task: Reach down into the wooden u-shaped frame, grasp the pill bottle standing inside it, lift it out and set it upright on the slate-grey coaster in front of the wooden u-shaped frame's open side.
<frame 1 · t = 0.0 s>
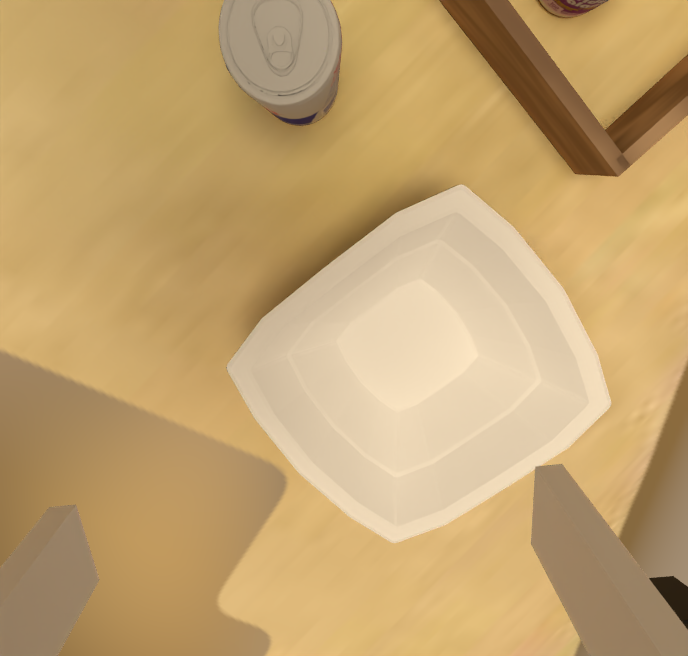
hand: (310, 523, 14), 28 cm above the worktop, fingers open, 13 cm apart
bowl: (406, 343, 43), on the worktop
beverage can: (299, 84, 36), on the worktop
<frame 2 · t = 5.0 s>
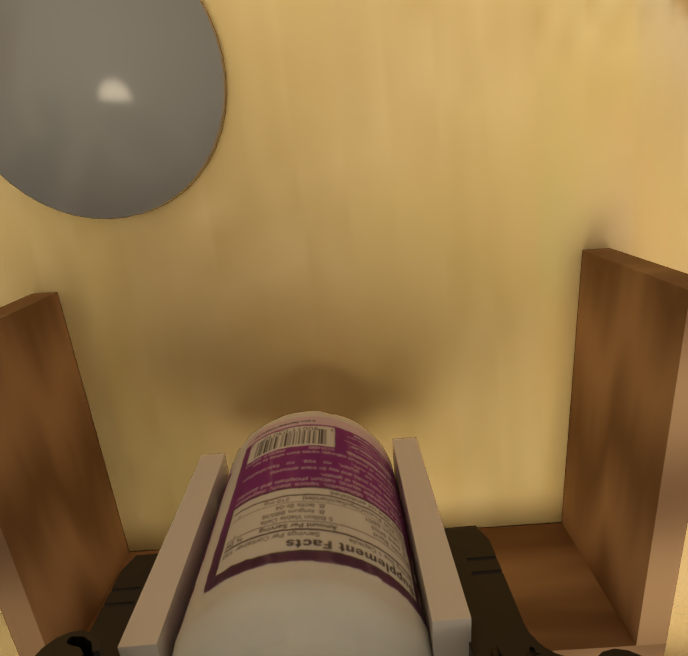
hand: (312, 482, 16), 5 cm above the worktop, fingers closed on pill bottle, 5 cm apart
coaster: (92, 80, 16), on the worktop
pill bottle: (314, 472, 17), point 4 cm above the worktop, touching gripper
wooden u-shaped frame: (331, 422, 21), on the worktop
when the fingers open (2 cm above the worktop, at t = 9.9 s): pill bottle stays where it is, resting on coaster.
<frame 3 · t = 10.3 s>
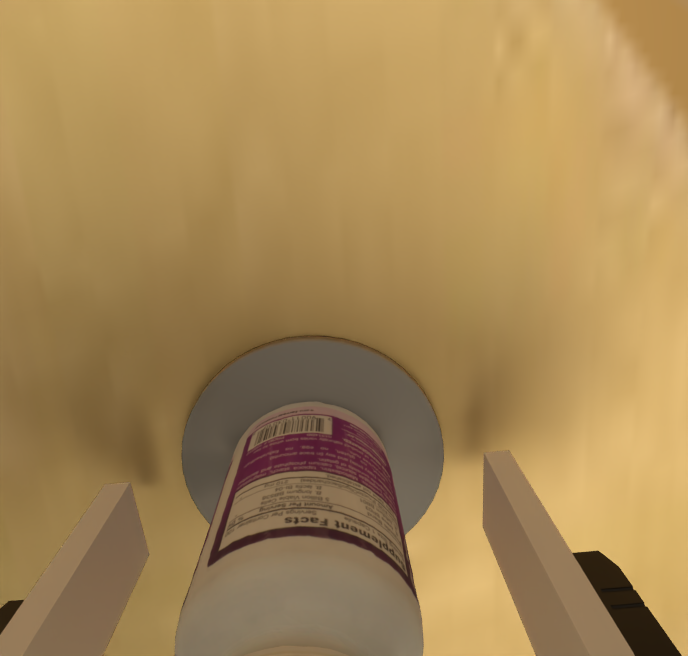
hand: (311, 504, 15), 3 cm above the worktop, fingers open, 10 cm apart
coaster: (314, 454, 18), on the worktop
pill bottle: (312, 461, 17), resting on coaster
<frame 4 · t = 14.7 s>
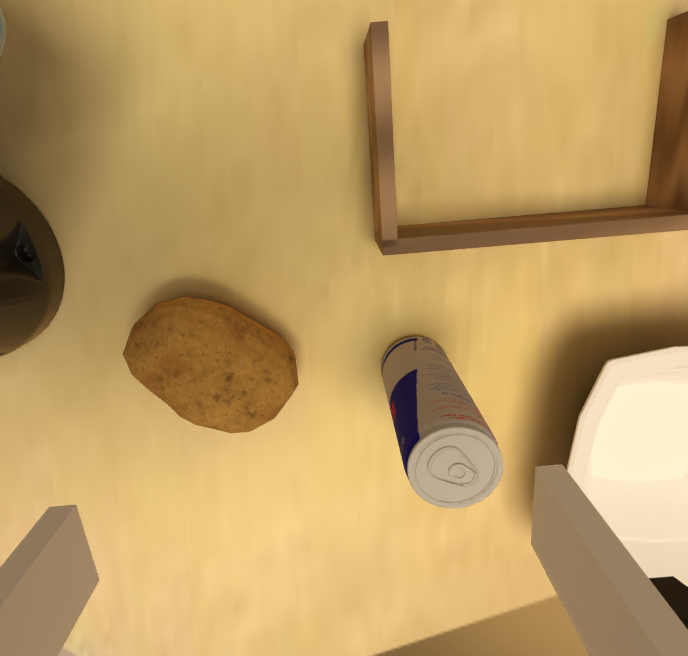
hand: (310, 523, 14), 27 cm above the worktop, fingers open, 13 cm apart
bowl: (641, 427, 45), on the worktop
beverage can: (413, 364, 42), on the worktop
potato: (222, 348, 41), on the worktop
wooden u-shaped frame: (519, 132, 36), on the worktop
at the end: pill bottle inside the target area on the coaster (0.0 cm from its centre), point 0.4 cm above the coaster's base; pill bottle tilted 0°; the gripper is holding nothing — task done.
